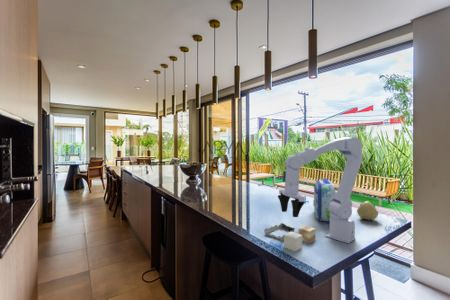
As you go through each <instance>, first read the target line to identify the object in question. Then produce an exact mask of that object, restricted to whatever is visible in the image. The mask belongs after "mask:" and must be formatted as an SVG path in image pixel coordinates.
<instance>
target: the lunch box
mask: <svg viewBox="0 0 450 300" xmlns="http://www.w3.org/2000/svg"><path fill="white" fill-rule="evenodd" d="M336 193H337V191H336V188H335V184H334V183H333V182H332V181H331V180H329V179H328V178H322V179H319V180H318V179H316V181H315V185H314V186H313V207H314V208H313V209H314V210H313V211H314V214H315V216H316V219H317V220H318V221H322V222H330V212H329V211H328V209H327V204H328V202H329V201H330V200H331V198H332V196H333V195H335V194H336Z"/></svg>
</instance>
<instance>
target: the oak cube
mask: <svg viewBox="0 0 450 300" xmlns="http://www.w3.org/2000/svg"><path fill="white" fill-rule="evenodd" d="M297 234H300V235H302V242H305V243H308V244H311V243H313V242H314V241H316V228H315V227H311V226H308V225H305V224H304V225H302V226H300V227H298V232H297Z"/></svg>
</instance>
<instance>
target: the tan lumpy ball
mask: <svg viewBox="0 0 450 300" xmlns="http://www.w3.org/2000/svg"><path fill="white" fill-rule="evenodd" d="M356 213H357V215H358V216H359V218H360V219H361V220H367V221H375V220H376V219H377V218H378V215H379V211H378V210H377V208H376V206H375V204H373V203H371V202H370V201H369V200H366V201H364V202H362V203H360V205H359V207H357V209H356Z"/></svg>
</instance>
